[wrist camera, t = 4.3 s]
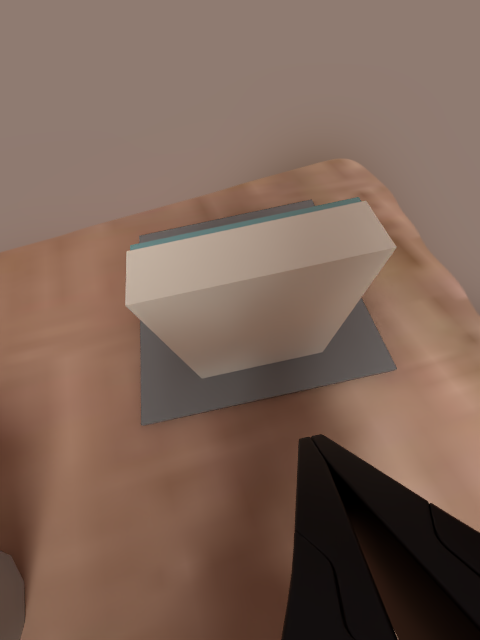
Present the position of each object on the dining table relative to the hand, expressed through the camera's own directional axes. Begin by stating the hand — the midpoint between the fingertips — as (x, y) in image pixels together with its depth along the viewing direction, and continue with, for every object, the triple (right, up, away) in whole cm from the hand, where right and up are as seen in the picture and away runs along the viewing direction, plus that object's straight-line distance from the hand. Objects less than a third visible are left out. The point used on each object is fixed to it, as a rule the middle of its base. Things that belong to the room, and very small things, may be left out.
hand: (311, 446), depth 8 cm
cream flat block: (-1, +2, +12) cm, 12 cm away
